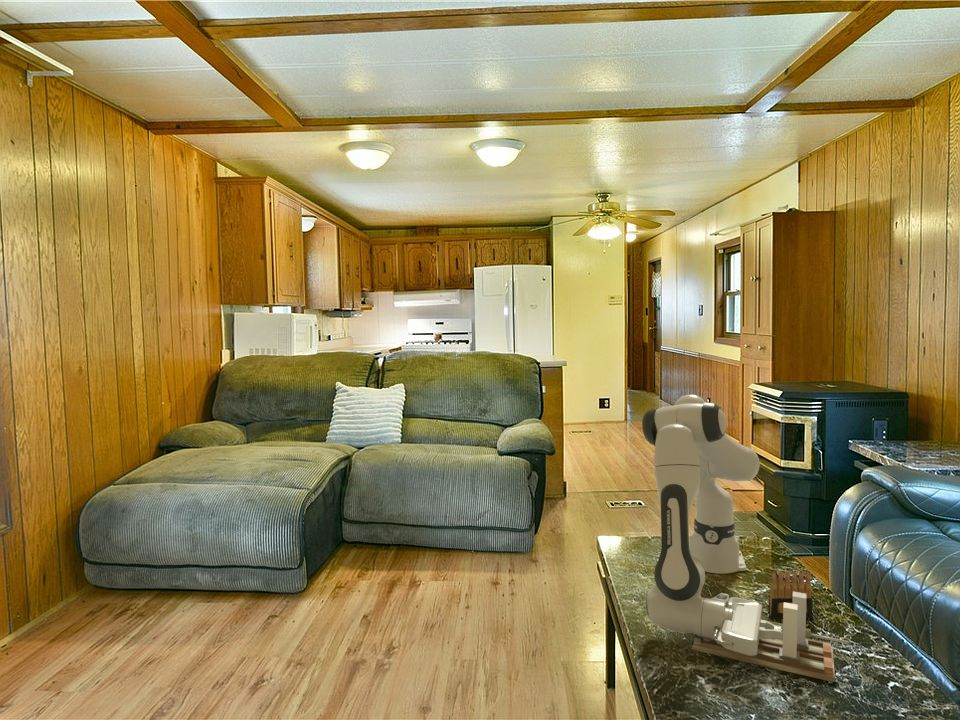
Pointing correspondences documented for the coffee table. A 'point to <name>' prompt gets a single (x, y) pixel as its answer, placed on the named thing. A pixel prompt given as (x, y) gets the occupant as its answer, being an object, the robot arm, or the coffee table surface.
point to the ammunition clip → (788, 593)
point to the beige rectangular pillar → (789, 633)
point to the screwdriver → (809, 635)
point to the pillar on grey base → (801, 619)
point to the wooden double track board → (810, 663)
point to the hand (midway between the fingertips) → (782, 633)
